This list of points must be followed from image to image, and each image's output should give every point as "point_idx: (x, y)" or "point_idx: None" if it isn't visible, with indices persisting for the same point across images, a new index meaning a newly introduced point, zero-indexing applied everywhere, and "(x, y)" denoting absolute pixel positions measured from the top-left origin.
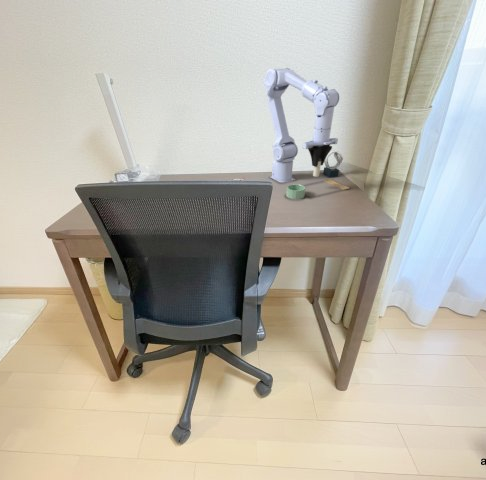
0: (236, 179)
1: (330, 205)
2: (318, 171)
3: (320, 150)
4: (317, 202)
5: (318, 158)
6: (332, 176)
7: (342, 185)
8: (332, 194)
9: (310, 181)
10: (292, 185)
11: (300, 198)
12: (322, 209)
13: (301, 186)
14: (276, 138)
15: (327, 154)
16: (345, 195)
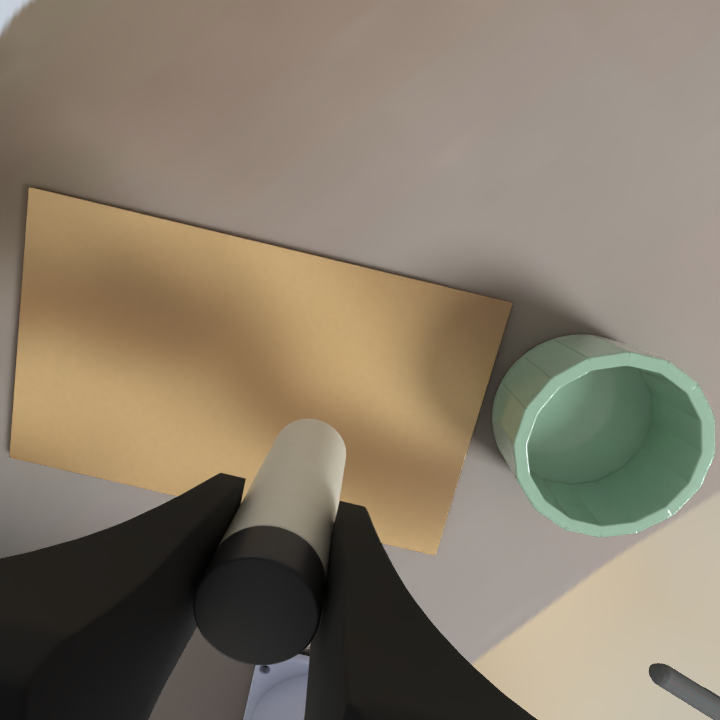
0: None
1: (526, 55)
2: (311, 446)
3: (411, 707)
4: (549, 188)
5: (351, 569)
6: None
7: (37, 277)
8: (285, 213)
9: None
10: (573, 515)
11: (607, 339)
12: (660, 48)
13: (523, 441)
14: None
15: (80, 541)
16: (212, 108)
